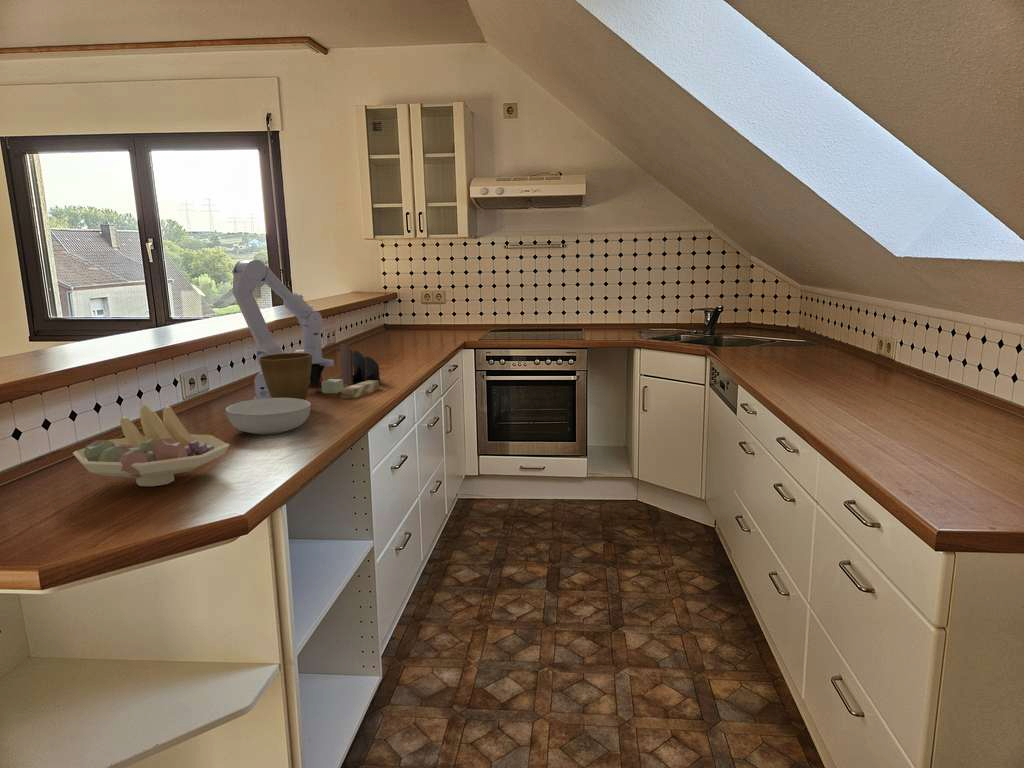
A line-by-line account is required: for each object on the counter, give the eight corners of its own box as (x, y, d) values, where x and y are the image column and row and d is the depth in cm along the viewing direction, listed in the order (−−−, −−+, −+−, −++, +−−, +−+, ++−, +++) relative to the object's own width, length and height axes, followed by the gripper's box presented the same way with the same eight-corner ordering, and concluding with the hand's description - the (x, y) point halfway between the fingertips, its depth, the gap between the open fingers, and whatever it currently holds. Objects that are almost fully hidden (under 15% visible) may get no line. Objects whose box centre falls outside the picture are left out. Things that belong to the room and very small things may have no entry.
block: (334, 394, 231) (334, 382, 230) (322, 393, 232) (321, 381, 232) (343, 391, 235) (342, 379, 234) (331, 390, 237) (330, 378, 236)
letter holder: (351, 389, 239) (349, 348, 236) (340, 379, 257) (338, 341, 254) (380, 386, 243) (378, 346, 240) (368, 377, 261) (366, 339, 258)
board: (352, 398, 222) (352, 389, 222) (341, 398, 224) (341, 388, 223) (379, 389, 237) (378, 380, 236) (369, 388, 238) (368, 380, 238)
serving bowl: (287, 443, 172) (285, 415, 170) (210, 439, 176) (208, 412, 175) (326, 422, 192) (324, 398, 190) (256, 420, 196) (254, 396, 195)
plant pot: (323, 403, 216) (319, 352, 213) (304, 414, 201) (300, 359, 198) (276, 403, 217) (272, 352, 214) (254, 414, 203) (249, 359, 200)
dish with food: (191, 454, 162) (185, 394, 160) (257, 477, 145) (251, 410, 142) (54, 486, 141) (45, 418, 139) (113, 518, 124) (103, 440, 121)
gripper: (338, 345, 235) (340, 385, 237) (301, 344, 240) (304, 383, 242) (325, 348, 228) (328, 389, 231) (288, 346, 233) (291, 386, 236)
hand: (315, 386), depth 236 cm, fingers closed
